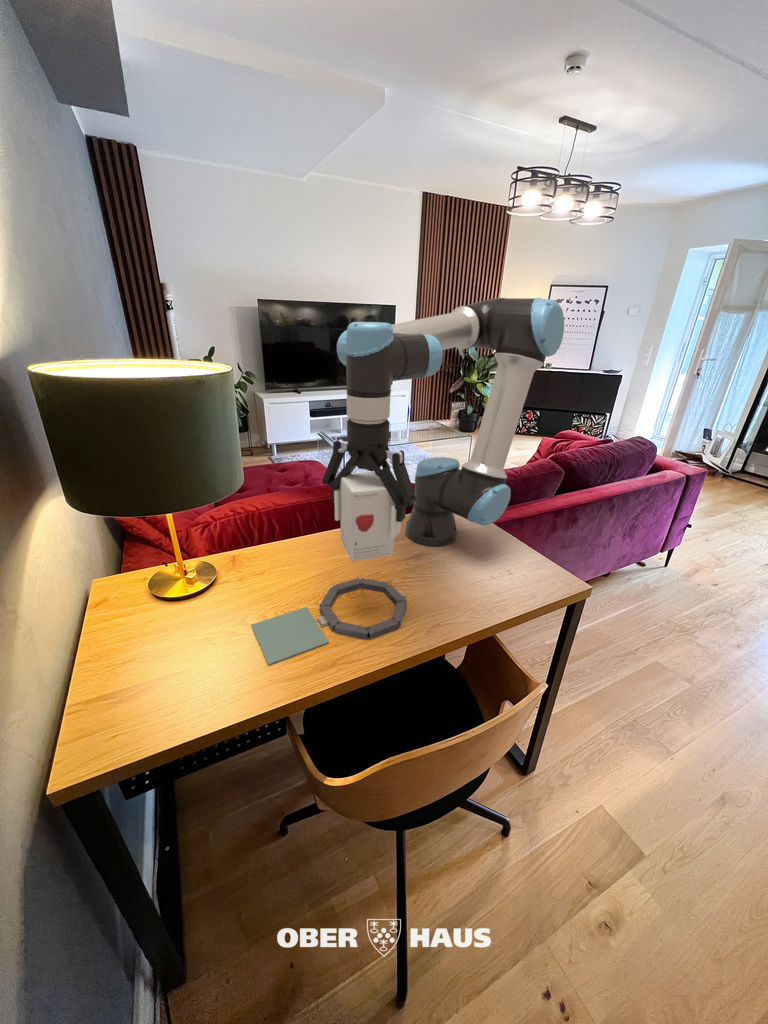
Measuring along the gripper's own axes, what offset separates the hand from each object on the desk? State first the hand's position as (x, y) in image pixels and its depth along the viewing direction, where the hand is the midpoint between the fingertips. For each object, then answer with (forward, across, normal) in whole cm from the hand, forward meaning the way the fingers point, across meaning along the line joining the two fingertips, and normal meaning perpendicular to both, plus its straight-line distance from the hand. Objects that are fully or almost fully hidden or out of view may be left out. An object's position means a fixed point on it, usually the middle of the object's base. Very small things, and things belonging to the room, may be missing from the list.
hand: (366, 526), depth 82 cm
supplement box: (+5, 0, 0) cm, 5 cm away
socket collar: (+21, 0, +1) cm, 21 cm away
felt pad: (+20, +9, +15) cm, 27 cm away
